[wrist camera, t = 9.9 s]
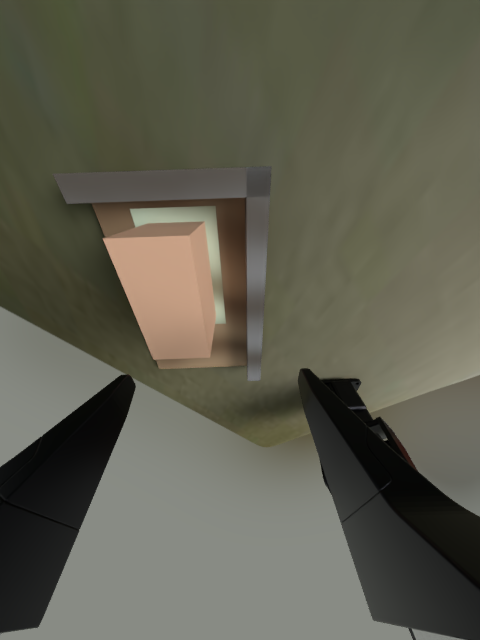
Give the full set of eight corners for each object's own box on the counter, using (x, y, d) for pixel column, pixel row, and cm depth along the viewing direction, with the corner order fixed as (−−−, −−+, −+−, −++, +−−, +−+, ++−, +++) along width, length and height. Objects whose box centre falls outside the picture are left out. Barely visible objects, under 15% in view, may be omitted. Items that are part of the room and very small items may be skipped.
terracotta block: (204, 221, 15) (189, 235, 10) (216, 316, 20) (209, 357, 15) (147, 223, 15) (103, 238, 10) (173, 317, 20) (153, 359, 15)
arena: (257, 361, 25) (260, 380, 22) (160, 365, 25) (152, 384, 22) (264, 171, 13) (271, 166, 11) (86, 177, 13) (52, 173, 11)
